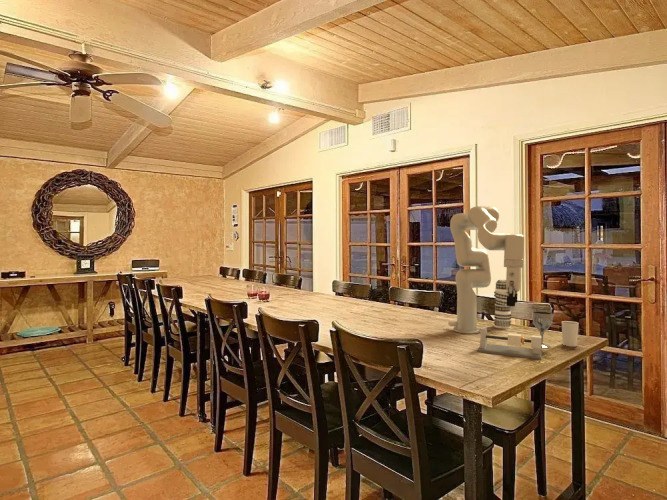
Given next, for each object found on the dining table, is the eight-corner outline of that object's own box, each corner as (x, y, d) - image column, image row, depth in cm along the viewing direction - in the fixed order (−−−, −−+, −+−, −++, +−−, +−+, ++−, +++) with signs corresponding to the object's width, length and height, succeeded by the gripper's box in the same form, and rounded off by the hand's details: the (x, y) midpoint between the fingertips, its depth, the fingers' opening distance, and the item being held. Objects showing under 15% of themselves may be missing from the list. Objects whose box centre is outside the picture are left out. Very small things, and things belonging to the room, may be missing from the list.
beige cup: (580, 347, 191) (580, 324, 190) (563, 346, 192) (564, 323, 192) (575, 343, 197) (575, 321, 197) (559, 342, 198) (559, 320, 198)
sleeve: (507, 344, 180) (507, 335, 180) (508, 342, 184) (508, 333, 184) (520, 346, 178) (520, 336, 178) (521, 343, 182) (521, 334, 181)
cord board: (477, 351, 182) (477, 330, 182) (482, 345, 193) (482, 325, 192) (540, 359, 171) (541, 336, 171) (542, 352, 182) (542, 330, 181)
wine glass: (549, 344, 194) (550, 311, 194) (553, 349, 187) (554, 314, 186) (530, 343, 197) (531, 310, 196) (533, 347, 189) (534, 313, 188)
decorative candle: (508, 325, 236) (509, 279, 235) (514, 329, 227) (515, 281, 226) (491, 324, 237) (492, 279, 236) (496, 328, 228) (496, 281, 227)
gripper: (521, 266, 173) (519, 308, 174) (524, 262, 188) (523, 301, 189) (501, 264, 176) (499, 306, 177) (506, 261, 191) (504, 300, 192)
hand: (511, 304), depth 183 cm, fingers open, 9 cm apart
